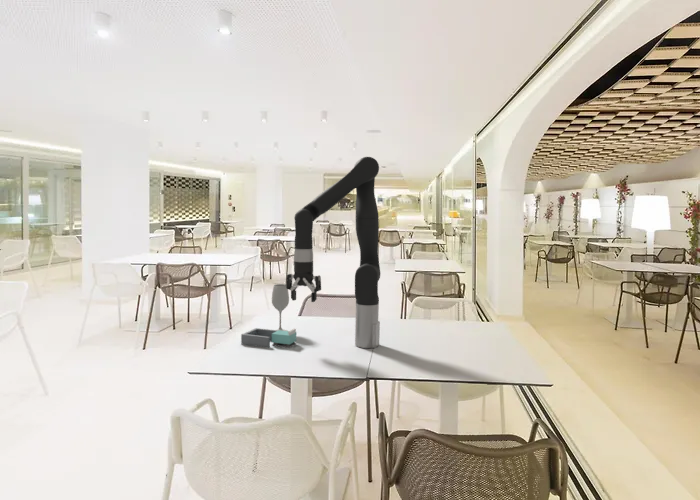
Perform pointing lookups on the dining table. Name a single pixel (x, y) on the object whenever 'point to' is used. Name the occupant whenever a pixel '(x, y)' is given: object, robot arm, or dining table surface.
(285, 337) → the teal box with handle
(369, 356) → the dining table surface
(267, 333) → the bay
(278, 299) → the wineglass
